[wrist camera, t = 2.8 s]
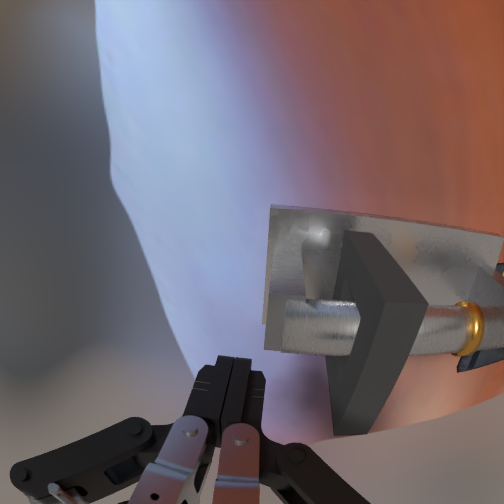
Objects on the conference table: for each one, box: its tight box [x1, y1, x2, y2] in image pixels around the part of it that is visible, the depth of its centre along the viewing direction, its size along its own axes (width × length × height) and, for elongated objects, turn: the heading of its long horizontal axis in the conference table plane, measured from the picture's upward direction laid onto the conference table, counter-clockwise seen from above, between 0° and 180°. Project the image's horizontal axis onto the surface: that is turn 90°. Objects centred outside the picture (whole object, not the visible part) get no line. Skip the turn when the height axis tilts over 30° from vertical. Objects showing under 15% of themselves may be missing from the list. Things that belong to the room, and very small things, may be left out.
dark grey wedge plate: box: [325, 230, 429, 436], centre depth 16 cm, size 2×9×9 cm, turn 177°
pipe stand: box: [262, 204, 504, 356], centre depth 18 cm, size 22×10×10 cm, turn 87°
